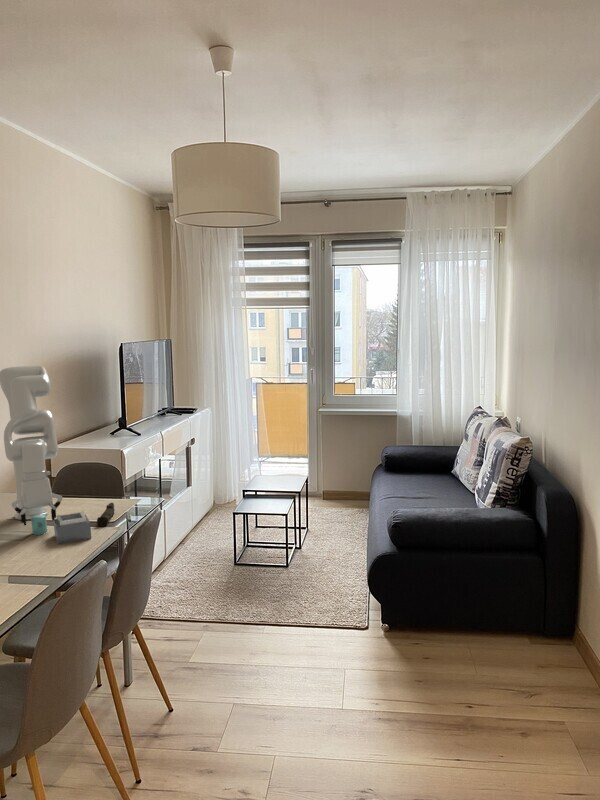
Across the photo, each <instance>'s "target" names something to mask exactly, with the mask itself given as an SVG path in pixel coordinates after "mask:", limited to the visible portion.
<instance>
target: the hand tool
mask: <svg viewBox="0 0 600 800" xmlns="http://www.w3.org/2000/svg"><path fill="white" fill-rule="evenodd" d="M112 515H114V516H115V504H114V502H109V503H108V504H107V505H106V507H105V510H104V511H103V513H102V514H101V515H100V516H99V517H97V519H96V523H97V526H98V527H106V526H108V525H109V524H108V523H109V521H110V520H111V518H112V517H113V516H112Z"/></svg>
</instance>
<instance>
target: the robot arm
mask: <svg viewBox="0 0 600 800" xmlns="http://www.w3.org/2000/svg"><path fill="white" fill-rule="evenodd" d="M0 388H1V389H2V393H3V395H4V396H5V398H6V400H7V402H8V408H9V409H8V410H9V419H10V420H9V421H8V423H7V424H6V426H5V429H4V431H3V445H4V453H5V457H6V459H7V460H8V461H10V462H12V464H13V468H14V469H13V470H14V478H15V479H14V481H15V492H16V493H15V494H16V500H13V502H11V506H12V508H13V510H14V511H16V513H14V515H13V518H15V520H21V522H20V523H21V524H23V526H27V520H31V517H33V516H37V515H46V516H47V515H48V514H49V510H48V509H47V508H44V507H48V506H49V507H50V508H51V509H50V513H51V514H50V515H51V521H53V522H54V519H57V511H56V510H57V509H58V507H59V506H60V505H61V502H62V500H63V496H62V495H59V494H58V493H57V494H56V493H54V492H52V487H51V481H50V479H49V477H48V476H50V475H52V474H51V471H50V470H47V468H46V467H47V465H46V460H50V459H54V458H56V457H57V456H58V453H59V447H58V446H59V445H58V437H57V430H56V425H55V419H54V415H53V412H51V410H48V409H38V405H37V399H36V398H38V397H39V398H41V397H47V396H49V395H51V391H52V385H51V378H50V377H49V373H48V371H47V369H46V368H45V367H44V366H43V365H27V366H26V365H25V366H12V367H11V366H10V367H5V368H2V369H1V370H0ZM13 434H14V435H18V436H24V435H27V436H26V437H19V438H17V439H14V440H13V437H12V435H13ZM36 434H42V435H38V436H28V435H36ZM53 498H55V499H57V500H56V502H55V503H53Z"/></svg>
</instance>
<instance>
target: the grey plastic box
mask: <svg viewBox="0 0 600 800" xmlns="http://www.w3.org/2000/svg"><path fill="white" fill-rule="evenodd" d="M53 529H54V530H53V531H54V537H55V539H56V542H57V544H58V545H62V544H63V543H64V544H68V543H75V542H80V541H81V542H82V541H85V540H86V541H87V540H92V530H91V522H90V520H89V518H88V516H87V515H86V514H85V513H84V512H83V511H79V512H73V513H72V512H70V513H65V514H59V515H58V514H57V515H56V518H55V519H54V521H53ZM64 544H63V545H64Z"/></svg>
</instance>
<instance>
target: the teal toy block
mask: <svg viewBox="0 0 600 800" xmlns="http://www.w3.org/2000/svg"><path fill="white" fill-rule="evenodd" d="M30 520H31V521H30V522H31V530H32V531H31V533H32V535H33V534H34V535H33V536H40V534H42V535H45V534H47V533H48V526H47V515H37V516H33V517H31V519H30ZM46 532H47V533H46ZM44 533H45V534H44Z"/></svg>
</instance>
